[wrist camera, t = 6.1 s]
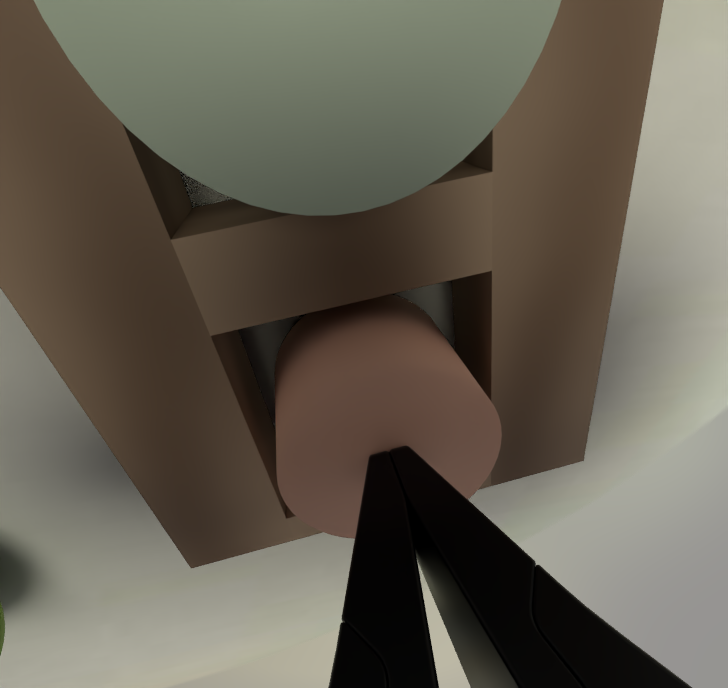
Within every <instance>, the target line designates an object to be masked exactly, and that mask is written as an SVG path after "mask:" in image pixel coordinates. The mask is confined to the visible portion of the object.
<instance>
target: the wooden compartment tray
mask: <svg viewBox="0 0 728 688" xmlns="http://www.w3.org/2000/svg"><path fill="white" fill-rule="evenodd" d="M663 2H664V0H561V3H560V6H559V9H558V13H557V16H556V18H555V20H554V23H553V25H552V28H551V30H550V33H549V35H548V38H547V40H546V42H545V45H544V47H543V50H542V52H541V54H540V56H539V58H538V60H537V62H536V63H535V65H534V67H533V69H532V71H531V73H530V75H529V77H528V79H527V81H526V82H525V84H524V86H523V87H522V89H521V90H520V92H519V93H518V95H517V97H516V98H515V100H514V101H513V103H512V104H511V106H510V107H509V109H508V110H507V112H506V113H505V114H504V116H503V117H502V118H501V119H500V121H499V122H498V123H497V124H496V125H495V127H494V128H493V129H492V130H491V132H490V133H489V134H488V135H487V136H486V138H485V139H484V140H483V141H482V142H481V143H480V144H479V145H478V146H477V147H476V148H475V149H474V150H473V151H472V152H470V153H469V154H468V155H467V156H466V157H465V158H464V159H463V160H462V161H461V162H460V163H458V164H457V165H456V166H454V167H453V168H452V169H451V170H449V171H448V172H447V173H445V174H444V175H443V176H442V177H440V178H439V179H437V180H435V181H434V182H432V183H430V184H429V185H427V186H425V187H424V188H422V189H420V190H419V191H417V192H415V193H413V194H411V195H409V196H406V197H404V198H402V199H399V200H397V201H395V202H392V203H390V204H387V205H383V206H380V207H376V208H373V209H369V210H366V211H362V212H355V213H348V214H341V215H318V216H306V215H298V214H290V213H282V212H276V211H272V210H268V209H265V208H261V207H257V206H253V205H249V204H246V203H244V202H241V201H239V200H236V199H233V200H228V201H223V202H218V203H213V204H208V205H203V206H199V207H194V208H192V205H191V202H190V199H189V197H188V194H187V191H186V189H185V186H184V183H183V181H182V178H181V175H180V172H179V170H178V169H177V168H176V167H174V166H173V165H171V164H170V163H169V162H167V161H166V160H164V159H163V158H161V157H160V156H159V155H157V154H156V153H155V152H154V151H153V150H152V149H150V148H149V147H148V146H147V145H146V144H145V143H143V142H142V141H141V140H140V139H139V138H138V137H136V136H135V135H134V134H133V133H132V132H131V131H130V130H128V129H127V128H126V126H125V125H124V124H123V123H122V122H121V121H120V120H119V119H118V118H117V117H116V116H115V115H114V114H113V113H112V112H111V111H110V110H109V108H108V107H107V106H106V105H105V104H104V103H103V102H102V101H101V100H100V99H99V98H98V97H97V95H96V94H95V93H94V91H93V90H92V89H91V87H90V86H89V85H88V84H87V82H86V81H85V80H84V78H83V77H82V76H81V75H80V73H79V72H78V71H77V69H76V68H75V67H74V66H73V64H72V63H71V62H70V60H69V59H68V57H67V55H66V54H65V52H64V51H63V49H62V48H61V46H60V44H59V43H58V41H57V40H56V38H55V37H54V35H53V33H52V32H51V30H50V29H49V27H48V25H47V24H46V22H45V21H44V19H43V18H42V16H41V14H40V12H39V10H38V8H37V6H36V4H35V2H34V0H0V288H1V289H2V290H3V292H4V293H5V295H6V296H7V298H8V299H9V301H10V302H11V304H12V305H13V307H14V308H15V310H16V311H17V313H18V314H19V316H20V317H21V318H22V320H23V321H24V323H25V324H26V326H27V327H28V329H29V330H30V332H31V333H32V335H33V336H34V338H35V339H36V341H37V342H38V344H39V345H40V346H41V348H42V349H43V351H44V352H45V354H46V355H47V357H48V358H49V360H50V361H51V363H52V364H53V366H54V367H55V369H56V370H57V371H58V373H59V374H60V376H61V377H62V379H63V380H64V382H65V383H66V385H67V386H68V388H69V389H70V391H71V392H72V394H73V395H74V397H75V398H76V399H77V401H78V402H79V404H80V405H81V407H82V408H83V410H84V411H85V413H86V414H87V416H88V417H89V419H90V420H91V422H92V423H93V425H94V426H95V427H96V429H97V430H98V432H99V433H100V435H101V436H102V438H103V439H104V441H105V442H106V444H107V445H108V447H109V448H110V450H111V451H112V452H113V454H114V455H115V457H116V458H117V460H118V461H119V463H120V464H121V466H122V467H123V469H124V470H125V472H126V473H127V475H128V476H129V478H130V479H131V480H132V482H133V483H134V485H135V486H136V488H137V489H138V491H139V492H140V494H141V495H142V497H143V498H144V500H145V501H146V503H147V504H148V506H149V507H150V508H151V510H152V511H153V513H154V514H155V516H156V517H157V519H158V520H159V522H160V523H161V525H162V526H163V528H164V529H165V531H166V532H167V533H168V535H169V536H170V538H171V539H172V541H173V542H174V544H175V545H176V547H177V548H178V550H179V551H180V553H181V554H182V556H183V557H184V559H185V560H186V561H187V563H188V564H189V566H190V567H191V568H195V567H198V566H202V565H205V564H209V563H213V562H216V561H220V560H224V559H227V558H231V557H235V556H238V555H242V554H245V553H249V552H253V551H256V550H260V549H264V548H267V547H271V546H275V545H278V544H282V543H286V542H289V541H293V540H296V539H300V538H304V537H307V536H311V535H315V534H318V533H322V531H319V530H317V529H315V528H313V527H311V526H309V525H307V524H306V523H304V522H303V521H301V520H300V519H299V518H298V517H297V516H296V515H294V514H293V513H292V512H291V510H290V509H289V508H288V506H287V505H286V504H285V502H284V500H283V498H282V496H281V494H280V490H279V487H278V483H277V470H276V432H275V429H274V426H273V423H272V421H271V418H270V415H269V413H268V410H267V407H266V405H265V402H264V399H263V396H262V394H261V391H260V388H259V386H258V383H257V380H256V378H255V375H254V372H253V369H252V367H251V364H250V361H249V359H248V356H247V353H246V351H245V348H244V345H243V342H242V340H241V337H240V334H239V332H238V329H242V328H247V327H251V326H255V325H260V324H264V323H268V322H272V321H277V320H281V319H285V318H290V317H294V316H298V315H303V314H307V313H311V312H316V311H320V310H324V309H329V308H333V307H337V306H342V305H346V304H350V303H354V302H359V301H363V300H367V299H372V298H376V297H380V296H385V295H389V294H393V293H398V292H402V291H406V290H411V289H415V288H419V287H424V286H428V285H432V284H437V283H441V282H445V281H449V280H452V295H453V315H454V335H455V352H456V354H457V355H458V356H459V358H460V359H461V360H462V362H463V363H464V365H465V366H466V367H467V369H468V370H469V372H470V373H471V374H472V376H473V377H474V378H475V380H476V381H477V383H478V384H479V385H480V387H481V388H482V390H483V391H484V392H485V394H486V395H487V396H488V398H489V399H490V401H491V402H492V403H493V405H494V407H495V409H496V411H497V413H498V415H499V419H500V423H501V431H502V439H501V447H500V451H499V455H498V458H497V460H496V462H495V465H494V467H493V469H492V471H491V472H490V474H489V476H488V477H487V479H486V480H485V481H484V483H483V484H482V485H481V487H480V488H479V489H482V488H486V487H489V486H493V485H497V484H500V483H504V482H508V481H511V480H515V479H519V478H522V477H526V476H529V475H533V474H537V473H540V472H544V471H548V470H551V469H555V468H559V467H562V466H566V465H570V464H573V463H577V462H580V461H584V455H585V449H586V443H587V438H588V432H589V426H590V420H591V415H592V409H593V403H594V398H595V392H596V386H597V380H598V375H599V369H600V363H601V357H602V352H603V346H604V340H605V334H606V329H607V323H608V317H609V311H610V306H611V300H612V294H613V289H614V283H615V277H616V271H617V266H618V260H619V254H620V248H621V243H622V237H623V231H624V225H625V220H626V214H627V208H628V202H629V197H630V191H631V185H632V180H633V174H634V168H635V162H636V157H637V151H638V145H639V139H640V134H641V128H642V122H643V116H644V111H645V105H646V99H647V93H648V88H649V82H650V76H651V71H652V65H653V59H654V53H655V48H656V42H657V36H658V30H659V25H660V19H661V13H662V7H663ZM479 489H478V490H479Z"/></svg>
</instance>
